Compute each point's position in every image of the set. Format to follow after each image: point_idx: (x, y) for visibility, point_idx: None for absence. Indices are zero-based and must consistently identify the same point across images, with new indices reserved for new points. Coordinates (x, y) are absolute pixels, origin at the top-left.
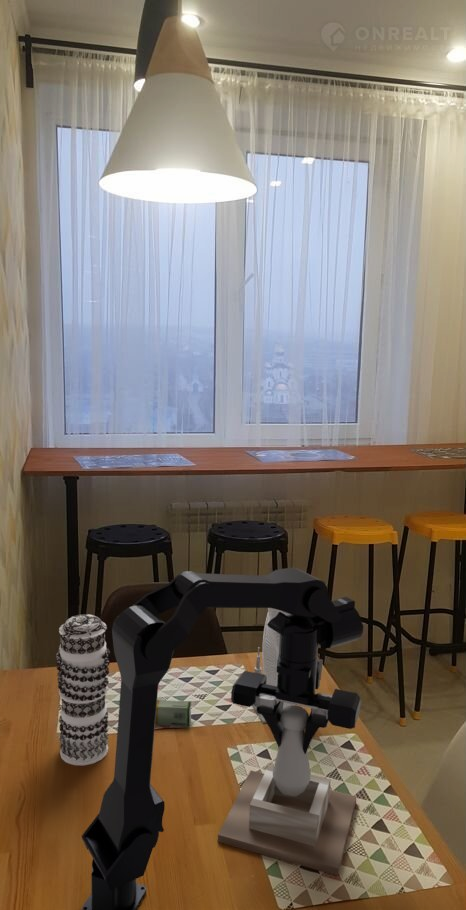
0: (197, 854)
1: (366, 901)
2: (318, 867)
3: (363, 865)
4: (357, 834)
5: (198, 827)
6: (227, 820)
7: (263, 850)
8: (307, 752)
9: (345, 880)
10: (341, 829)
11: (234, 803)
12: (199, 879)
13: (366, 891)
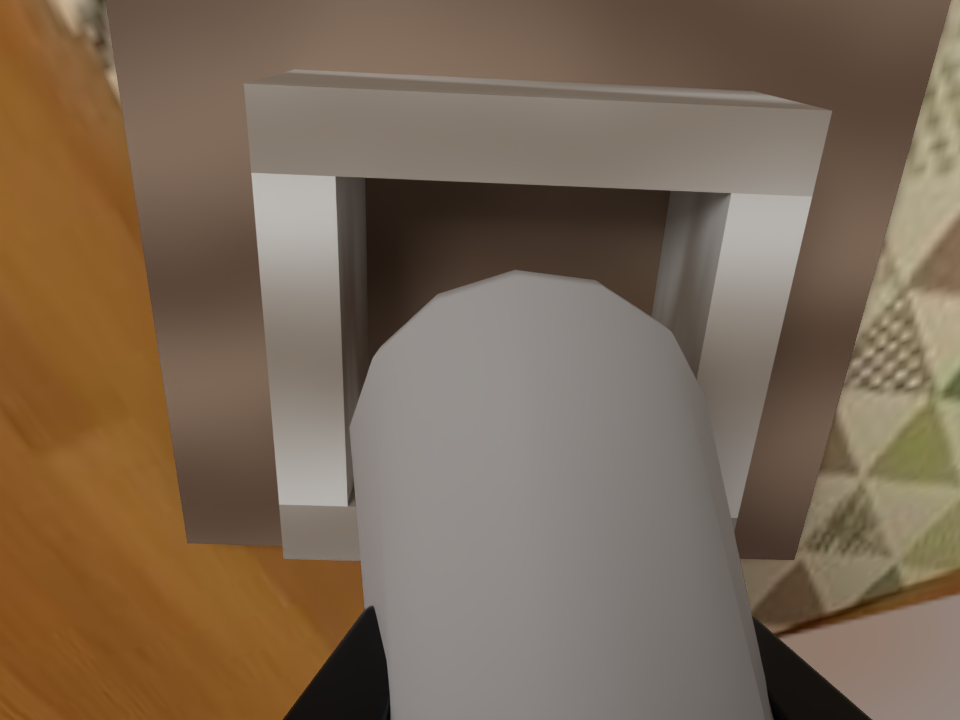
0: (154, 599)
1: (889, 607)
2: None
3: (903, 448)
4: (900, 257)
5: (66, 465)
6: (185, 446)
7: None
8: (739, 558)
9: (810, 544)
10: (824, 322)
11: (157, 313)
12: (228, 691)
13: (896, 567)
